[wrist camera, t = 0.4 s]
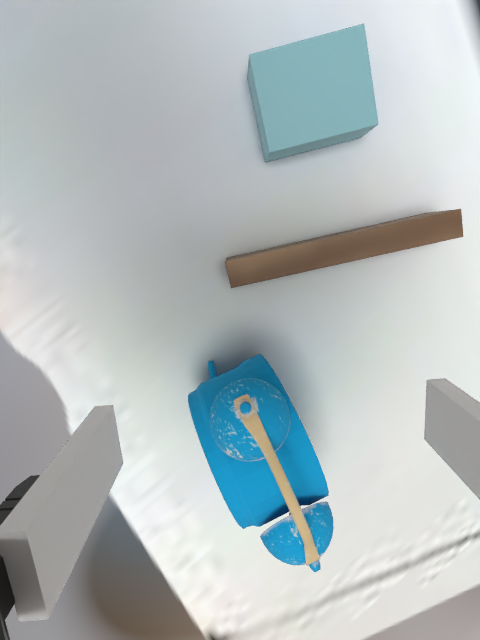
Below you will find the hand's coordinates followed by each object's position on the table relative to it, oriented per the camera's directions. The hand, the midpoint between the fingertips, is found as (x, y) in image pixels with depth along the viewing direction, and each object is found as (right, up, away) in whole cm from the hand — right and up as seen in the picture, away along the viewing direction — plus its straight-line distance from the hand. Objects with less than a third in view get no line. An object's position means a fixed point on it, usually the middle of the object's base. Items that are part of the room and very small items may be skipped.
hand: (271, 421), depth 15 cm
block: (+5, +26, +22) cm, 34 cm away
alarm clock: (0, -6, +29) cm, 29 cm away
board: (+8, +12, +25) cm, 29 cm away
